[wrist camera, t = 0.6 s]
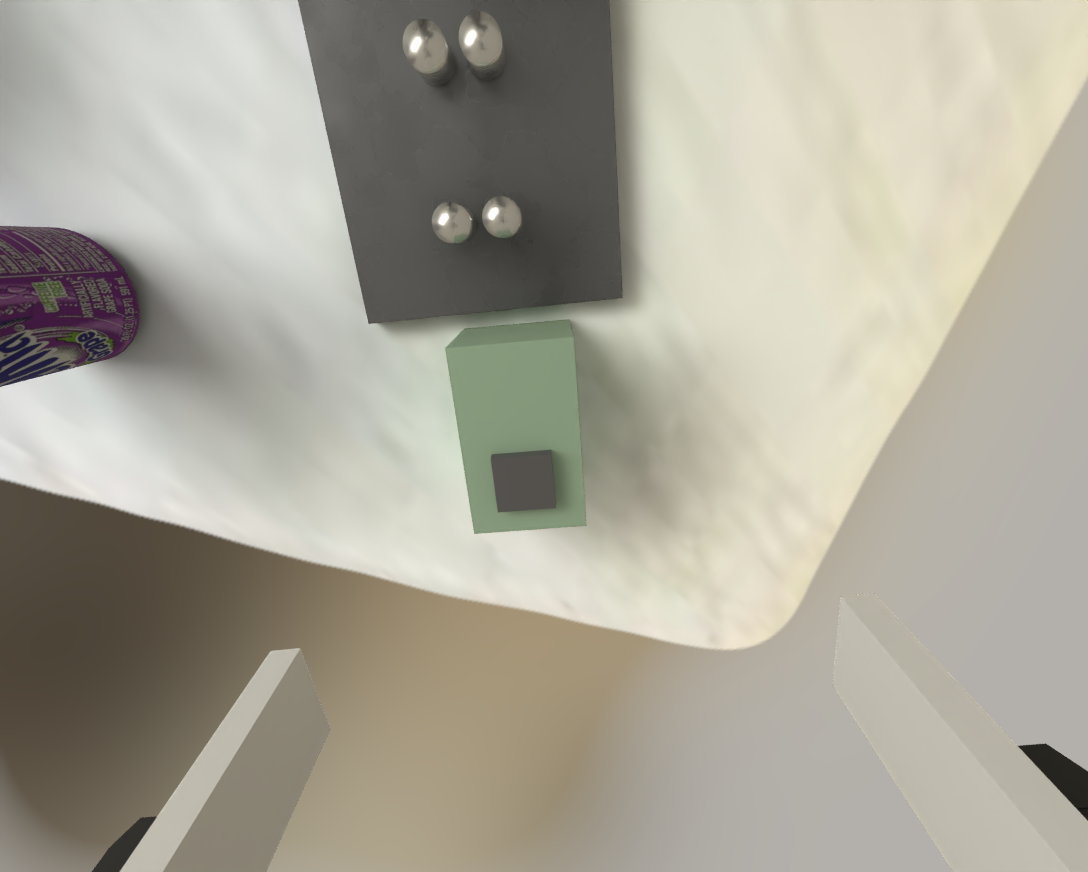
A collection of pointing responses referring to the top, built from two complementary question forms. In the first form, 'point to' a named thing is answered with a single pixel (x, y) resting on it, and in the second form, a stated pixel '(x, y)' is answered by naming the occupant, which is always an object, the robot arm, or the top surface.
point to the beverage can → (60, 303)
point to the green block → (519, 425)
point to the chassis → (471, 150)
